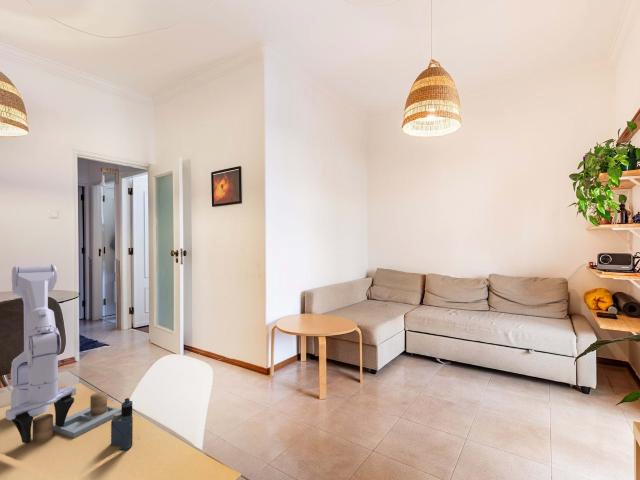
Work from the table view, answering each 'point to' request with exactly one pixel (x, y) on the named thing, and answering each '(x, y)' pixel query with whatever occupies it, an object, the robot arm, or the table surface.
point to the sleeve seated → (98, 404)
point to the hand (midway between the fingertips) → (43, 434)
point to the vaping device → (122, 427)
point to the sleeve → (42, 428)
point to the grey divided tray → (84, 422)
